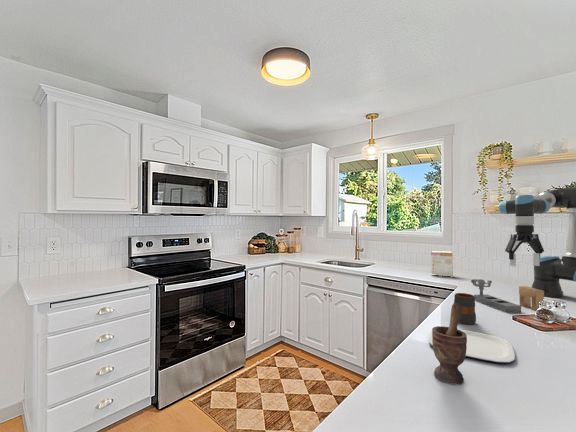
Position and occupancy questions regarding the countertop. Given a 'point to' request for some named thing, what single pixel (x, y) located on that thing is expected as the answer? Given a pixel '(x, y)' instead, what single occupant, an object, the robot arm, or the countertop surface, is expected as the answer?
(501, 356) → the plate
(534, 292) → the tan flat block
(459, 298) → the mug
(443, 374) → the mortar and pestle
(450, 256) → the coffeecake box
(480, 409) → the countertop surface
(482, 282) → the mechanical component
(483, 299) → the rail
